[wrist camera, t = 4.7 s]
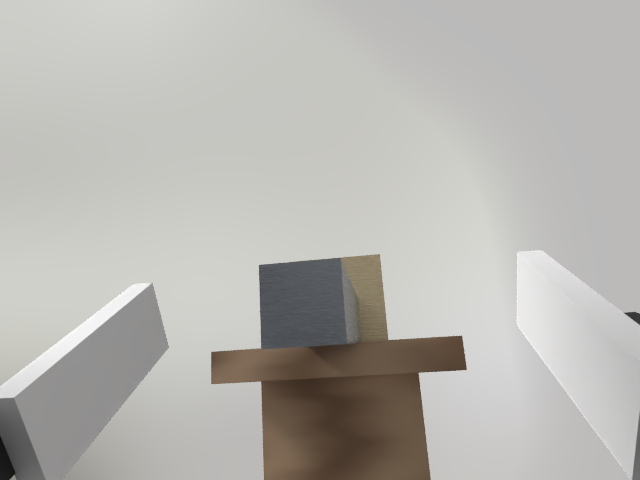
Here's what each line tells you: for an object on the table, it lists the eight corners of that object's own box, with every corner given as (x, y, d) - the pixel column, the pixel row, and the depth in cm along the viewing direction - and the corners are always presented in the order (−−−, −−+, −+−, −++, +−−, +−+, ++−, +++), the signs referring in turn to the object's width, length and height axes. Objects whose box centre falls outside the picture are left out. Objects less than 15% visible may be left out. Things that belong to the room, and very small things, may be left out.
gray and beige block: (211, 352, 12) (211, 192, 14) (304, 345, 28) (300, 272, 29) (400, 340, 12) (382, 174, 13) (386, 340, 28) (379, 265, 29)
